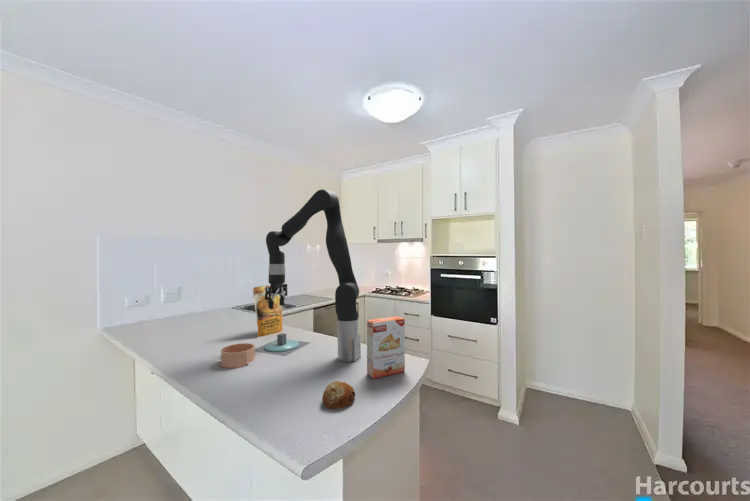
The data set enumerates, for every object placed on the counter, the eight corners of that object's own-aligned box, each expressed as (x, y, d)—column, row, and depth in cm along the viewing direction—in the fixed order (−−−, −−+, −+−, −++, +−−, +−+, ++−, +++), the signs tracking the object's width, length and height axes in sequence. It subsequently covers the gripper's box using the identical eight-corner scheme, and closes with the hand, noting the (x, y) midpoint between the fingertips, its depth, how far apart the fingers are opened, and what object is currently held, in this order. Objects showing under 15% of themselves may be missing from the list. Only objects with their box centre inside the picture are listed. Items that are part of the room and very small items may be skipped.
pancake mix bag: (250, 337, 165) (249, 286, 165) (280, 329, 180) (279, 283, 180) (256, 339, 161) (255, 287, 161) (287, 331, 176) (286, 284, 175)
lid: (305, 343, 150) (305, 331, 150) (284, 353, 135) (284, 340, 135) (279, 340, 156) (279, 328, 156) (257, 349, 141) (256, 337, 141)
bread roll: (329, 405, 99) (318, 383, 99) (357, 390, 100) (346, 369, 99) (327, 422, 89) (315, 398, 89) (358, 405, 90) (346, 382, 89)
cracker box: (373, 380, 109) (372, 322, 109) (366, 374, 114) (365, 319, 114) (405, 372, 115) (405, 318, 115) (397, 366, 121) (396, 315, 121)
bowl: (261, 358, 132) (260, 345, 132) (237, 369, 120) (237, 354, 120) (239, 355, 137) (238, 342, 137) (214, 365, 125) (214, 351, 125)
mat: (311, 344, 151) (311, 342, 151) (285, 357, 133) (285, 355, 133) (279, 340, 159) (279, 338, 159) (250, 352, 140) (250, 350, 140)
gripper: (274, 274, 134) (274, 310, 135) (292, 272, 148) (291, 304, 148) (260, 274, 137) (260, 309, 137) (279, 271, 150) (278, 303, 150)
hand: (276, 307), depth 143 cm, fingers open, 8 cm apart
